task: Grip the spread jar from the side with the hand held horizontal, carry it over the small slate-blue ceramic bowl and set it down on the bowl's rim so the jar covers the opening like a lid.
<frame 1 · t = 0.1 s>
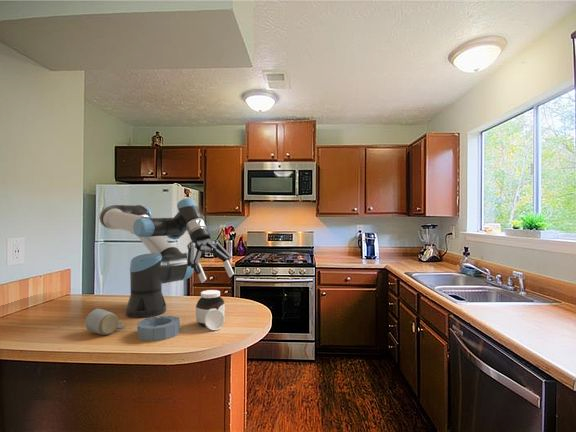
hand: (218, 278, 128), 15 cm above the countertop, tool tilted 35°, fingers open, 13 cm apart
slate bowl: (159, 333, 111), on the countertop
spread jar: (212, 326, 119), on the countertop
ceramic mug: (106, 332, 113), on the countertop
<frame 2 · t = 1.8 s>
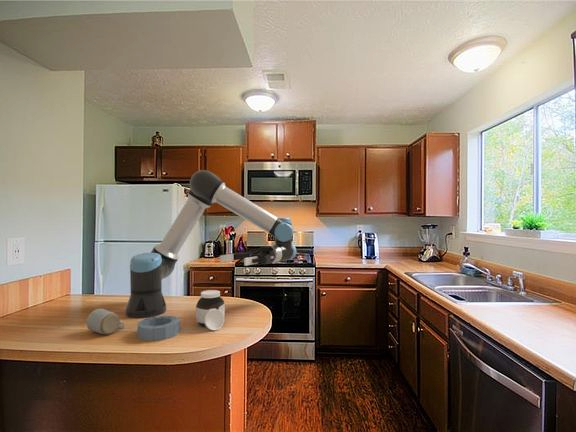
hand: (232, 260, 126), 22 cm above the countertop, tool horizontal, fingers open, 13 cm apart
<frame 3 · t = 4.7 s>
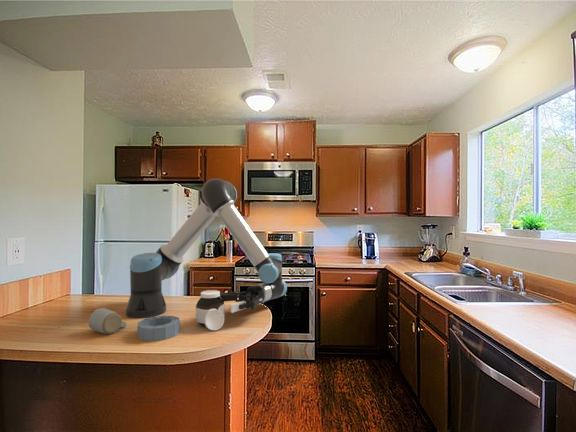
hand: (218, 305, 120), 7 cm above the countertop, tool horizontal, fingers open, 13 cm apart
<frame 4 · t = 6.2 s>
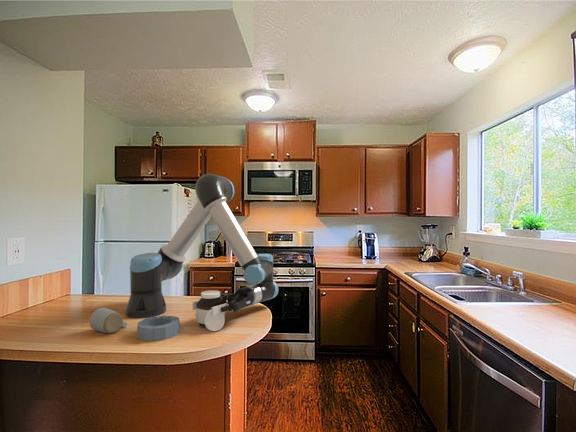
hand: (202, 308, 116), 7 cm above the countertop, tool horizontal, fingers closed on spread jar, 10 cm apart
spread jar: (212, 327, 118), on the countertop, touching gripper
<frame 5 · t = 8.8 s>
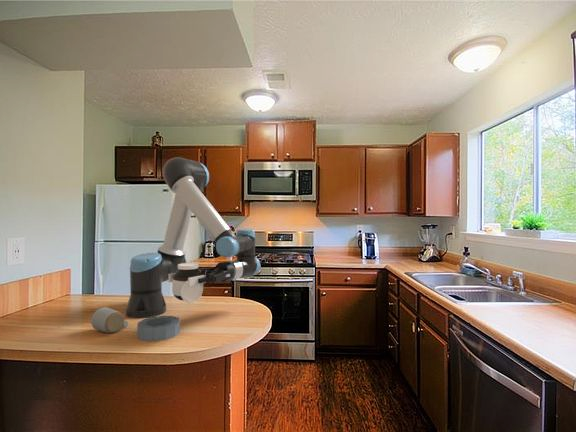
hand: (178, 280, 110), 18 cm above the countertop, tool horizontal, fingers closed on spread jar, 10 cm apart
spread jar: (189, 299, 113), point 11 cm above the countertop, touching gripper
when the fingers open (12 cm above the countertop, at t = 11.2 s): spread jar drops 1 cm, resting on slate bowl.
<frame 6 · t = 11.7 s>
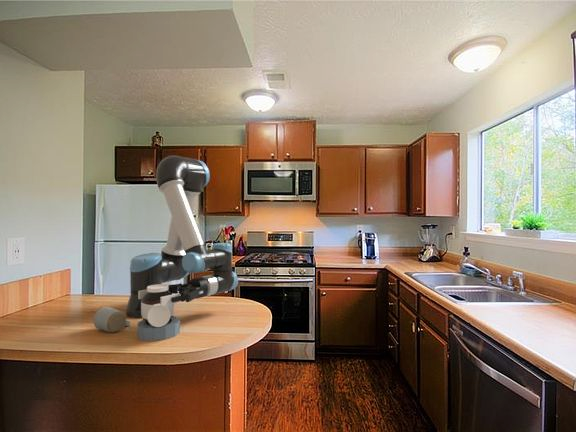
hand: (149, 298, 109), 12 cm above the countertop, tool horizontal, fingers open, 13 cm apart
spread jar: (159, 323, 110), point 4 cm above the countertop, touching slate bowl
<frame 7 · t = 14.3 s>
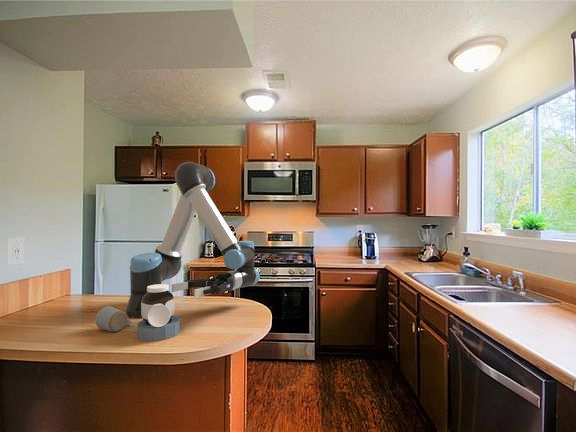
hand: (182, 290, 119), 13 cm above the countertop, tool horizontal, fingers open, 13 cm apart
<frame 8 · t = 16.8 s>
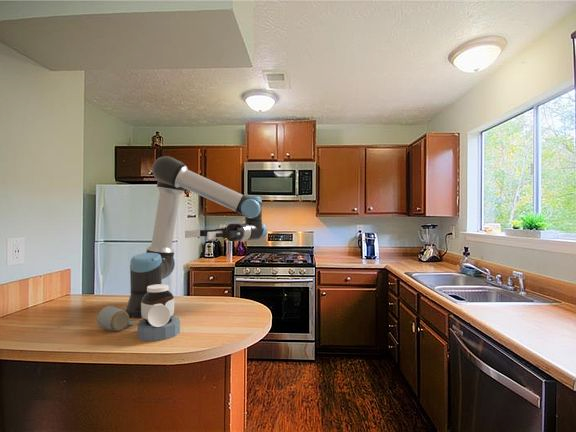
hand: (196, 235, 125), 32 cm above the countertop, tool horizontal, fingers open, 13 cm apart
at the end: spread jar 0.9 cm off-centre on the slate bowl, point 3.8 cm above the slate bowl's base; spread jar tilted 0°; the gripper is holding nothing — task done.
